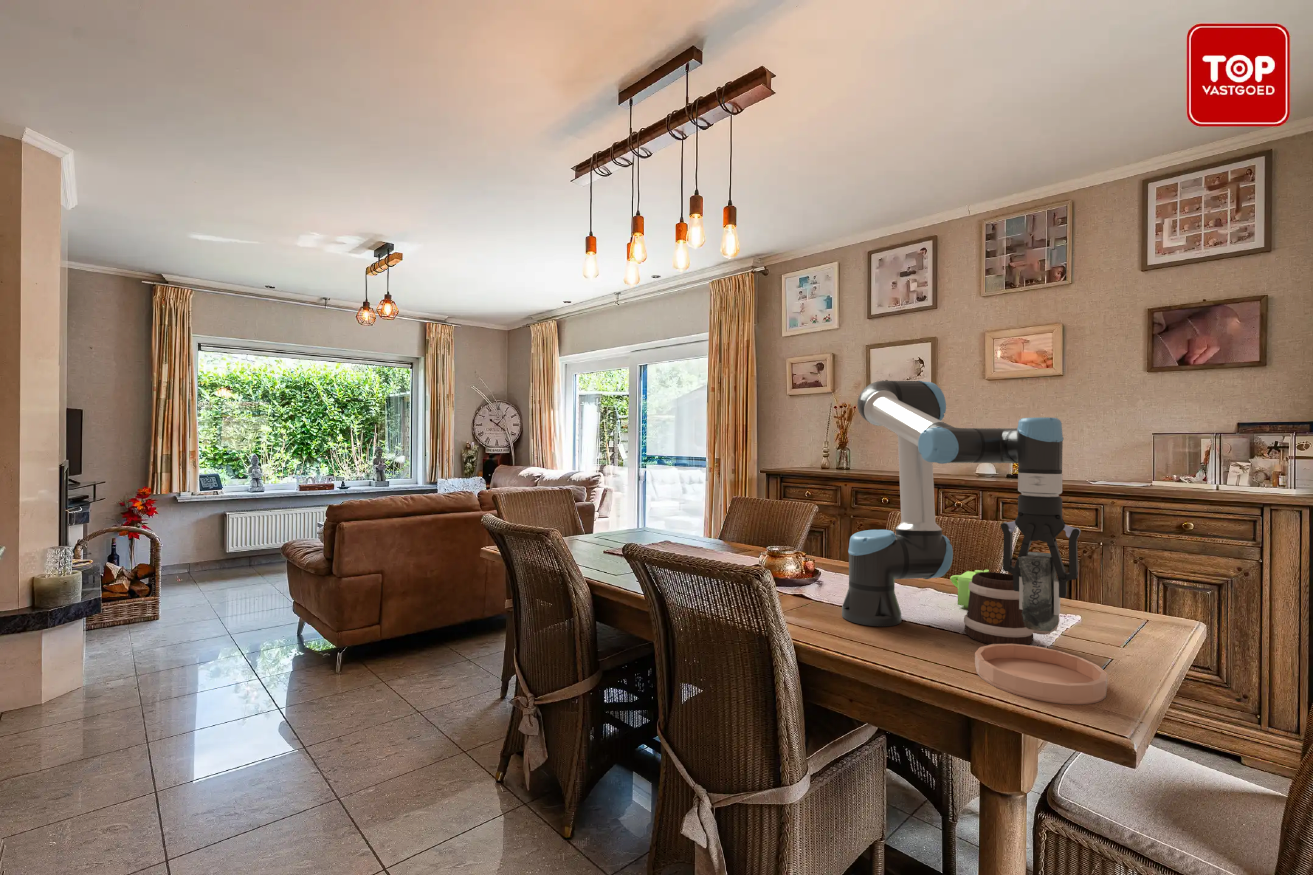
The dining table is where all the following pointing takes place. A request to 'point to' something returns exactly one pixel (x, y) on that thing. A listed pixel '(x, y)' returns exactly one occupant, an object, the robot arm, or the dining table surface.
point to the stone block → (1038, 591)
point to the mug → (996, 611)
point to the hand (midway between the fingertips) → (1039, 610)
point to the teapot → (964, 586)
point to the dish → (1041, 673)
